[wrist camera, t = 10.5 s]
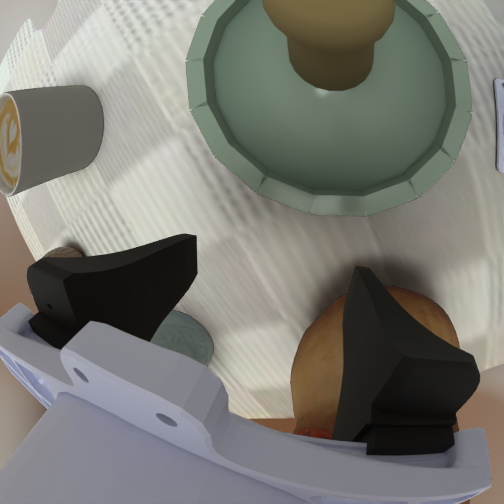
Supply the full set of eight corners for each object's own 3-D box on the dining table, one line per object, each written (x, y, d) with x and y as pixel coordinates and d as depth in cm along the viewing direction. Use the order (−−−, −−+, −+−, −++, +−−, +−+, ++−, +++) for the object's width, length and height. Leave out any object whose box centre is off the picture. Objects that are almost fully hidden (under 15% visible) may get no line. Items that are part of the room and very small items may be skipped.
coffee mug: (99, 71, 20) (18, 72, 11) (110, 160, 24) (30, 187, 15) (37, 112, 24) (-24, 126, 15) (47, 181, 28) (-12, 207, 19)
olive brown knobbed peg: (278, 26, 14) (221, -51, 5) (358, 13, 12) (374, -74, 3) (300, 98, 17) (264, 64, 7) (383, 86, 15) (440, 45, 5)
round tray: (433, -15, 9) (441, -26, 7) (453, 212, 17) (465, 223, 15) (195, -9, 14) (181, -19, 12) (215, 204, 23) (202, 214, 21)
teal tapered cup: (153, 349, 35) (107, 412, 25) (142, 292, 30) (76, 359, 20) (221, 373, 33) (183, 449, 23) (221, 316, 28) (168, 406, 18)
